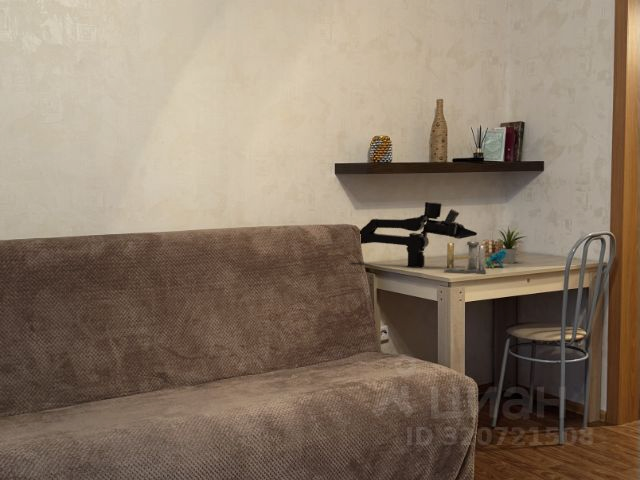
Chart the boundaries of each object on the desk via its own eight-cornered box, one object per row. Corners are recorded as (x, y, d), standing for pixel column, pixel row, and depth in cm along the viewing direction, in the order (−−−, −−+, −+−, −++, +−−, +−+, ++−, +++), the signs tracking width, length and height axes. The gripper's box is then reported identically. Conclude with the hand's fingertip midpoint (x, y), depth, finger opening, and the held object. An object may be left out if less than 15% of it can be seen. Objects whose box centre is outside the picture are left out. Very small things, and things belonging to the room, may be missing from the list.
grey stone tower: (479, 273, 311) (479, 245, 310) (465, 268, 329) (465, 241, 328) (490, 273, 312) (491, 245, 311) (476, 267, 329) (476, 241, 328)
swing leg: (466, 265, 326) (467, 241, 325) (471, 265, 324) (471, 241, 323) (445, 267, 318) (446, 243, 317) (450, 268, 316) (451, 243, 315)
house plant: (510, 265, 338) (511, 227, 337) (485, 262, 349) (486, 226, 348) (530, 263, 348) (531, 226, 346) (505, 260, 358) (506, 224, 357)
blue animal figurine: (499, 261, 340) (509, 246, 332) (506, 271, 337) (516, 257, 329) (479, 266, 334) (488, 251, 327) (486, 276, 331) (496, 262, 324)
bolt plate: (444, 272, 314) (444, 269, 314) (445, 270, 320) (445, 268, 320) (484, 274, 310) (484, 271, 310) (485, 272, 316) (485, 269, 316)
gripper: (437, 207, 320) (475, 212, 315) (445, 210, 337) (481, 215, 332) (433, 233, 320) (471, 239, 315) (440, 235, 337) (476, 241, 332)
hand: (475, 233), depth 324 cm, fingers open, 9 cm apart
